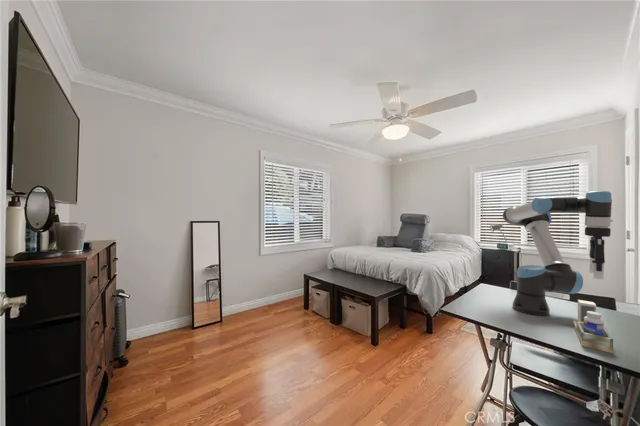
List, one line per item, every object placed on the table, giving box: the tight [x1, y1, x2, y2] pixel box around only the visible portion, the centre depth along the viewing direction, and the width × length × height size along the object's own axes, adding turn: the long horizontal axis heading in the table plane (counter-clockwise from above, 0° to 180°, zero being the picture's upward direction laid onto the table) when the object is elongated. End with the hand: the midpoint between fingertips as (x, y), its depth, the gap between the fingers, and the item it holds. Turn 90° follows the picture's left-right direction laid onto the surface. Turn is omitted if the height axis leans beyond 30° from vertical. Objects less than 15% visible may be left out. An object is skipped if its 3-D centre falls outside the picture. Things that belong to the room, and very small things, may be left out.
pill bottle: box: [584, 311, 605, 336], centre depth 101 cm, size 5×5×10 cm
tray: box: [572, 320, 614, 354], centre depth 105 cm, size 8×25×5 cm, turn 141°
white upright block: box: [577, 299, 597, 323], centre depth 112 cm, size 5×6×10 cm
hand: (596, 275), depth 110 cm, fingers open, 13 cm apart
